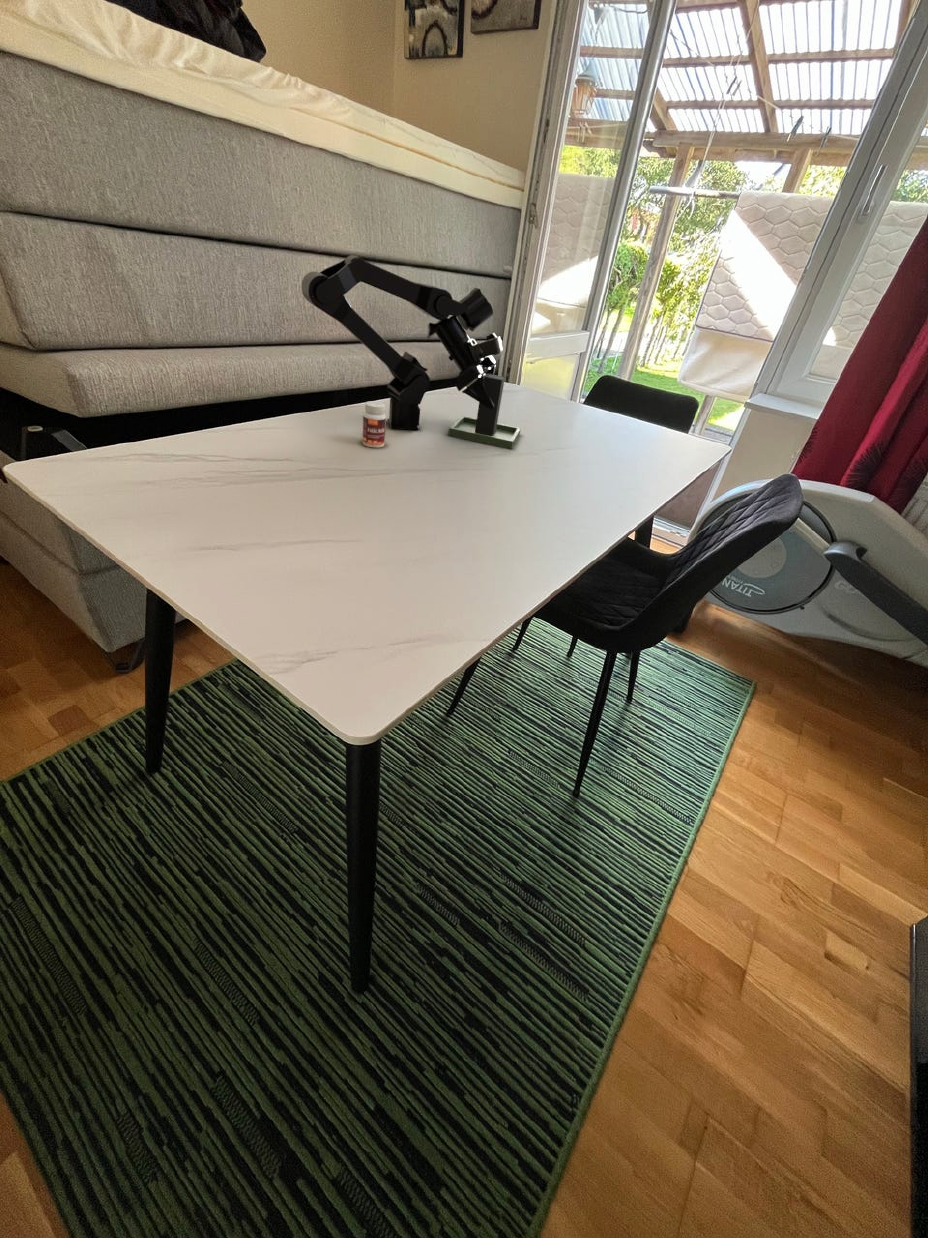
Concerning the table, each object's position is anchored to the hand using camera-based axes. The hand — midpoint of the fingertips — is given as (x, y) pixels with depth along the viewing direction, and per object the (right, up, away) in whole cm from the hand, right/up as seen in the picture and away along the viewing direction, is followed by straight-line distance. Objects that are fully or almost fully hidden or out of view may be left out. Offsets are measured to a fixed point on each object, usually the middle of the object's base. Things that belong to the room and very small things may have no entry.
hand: (496, 403), depth 123 cm
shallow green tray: (-2, -6, +5) cm, 8 cm away
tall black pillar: (-2, -5, +4) cm, 7 cm away
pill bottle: (-27, -14, -11) cm, 33 cm away
